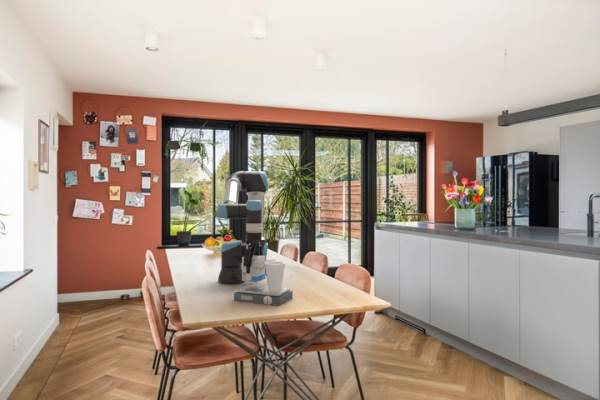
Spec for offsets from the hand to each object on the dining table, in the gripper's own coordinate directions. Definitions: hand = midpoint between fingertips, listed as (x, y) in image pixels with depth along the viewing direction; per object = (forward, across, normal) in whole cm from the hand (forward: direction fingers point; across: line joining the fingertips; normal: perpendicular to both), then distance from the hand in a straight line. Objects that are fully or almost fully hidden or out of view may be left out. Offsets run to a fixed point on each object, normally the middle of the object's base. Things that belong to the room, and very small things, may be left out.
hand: (253, 278), depth 203 cm
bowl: (+9, +60, +28) cm, 67 cm away
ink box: (+1, 0, 0) cm, 1 cm away
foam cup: (+5, 0, -11) cm, 12 cm away
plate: (+6, 0, -5) cm, 8 cm away
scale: (+10, 0, -5) cm, 11 cm away
